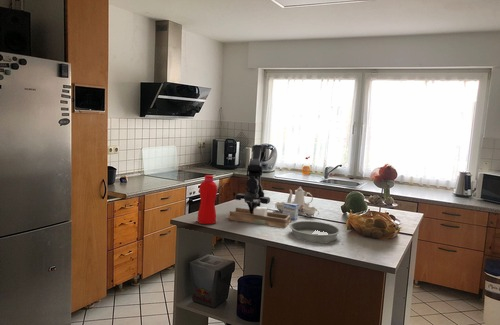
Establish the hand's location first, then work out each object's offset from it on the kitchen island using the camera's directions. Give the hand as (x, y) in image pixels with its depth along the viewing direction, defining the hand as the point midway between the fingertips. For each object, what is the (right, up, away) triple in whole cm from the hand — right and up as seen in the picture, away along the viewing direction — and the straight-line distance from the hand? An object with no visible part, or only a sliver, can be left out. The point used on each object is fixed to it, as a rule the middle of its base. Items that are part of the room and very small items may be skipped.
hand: (251, 213), depth 215 cm
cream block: (+5, -2, -2) cm, 5 cm away
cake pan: (+31, -8, -23) cm, 39 cm away
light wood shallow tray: (+5, -4, -1) cm, 6 cm away
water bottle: (-24, -3, -11) cm, 26 cm away
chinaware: (+28, -3, +22) cm, 36 cm away
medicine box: (+22, -4, +8) cm, 24 cm away
